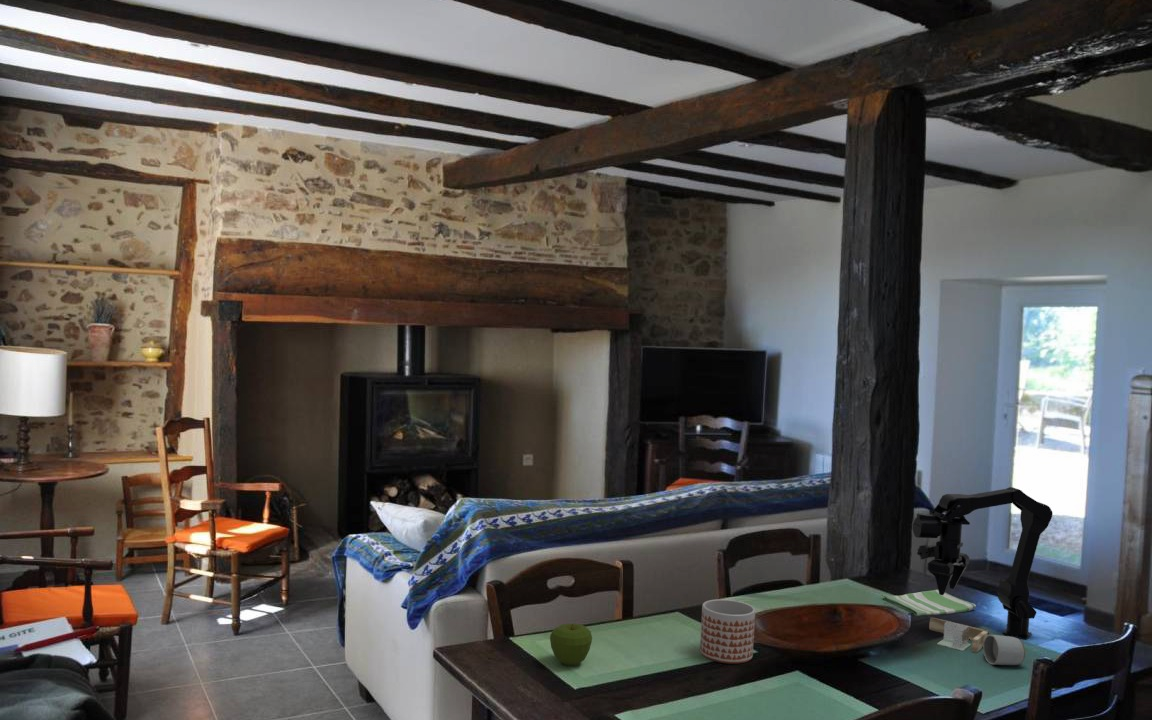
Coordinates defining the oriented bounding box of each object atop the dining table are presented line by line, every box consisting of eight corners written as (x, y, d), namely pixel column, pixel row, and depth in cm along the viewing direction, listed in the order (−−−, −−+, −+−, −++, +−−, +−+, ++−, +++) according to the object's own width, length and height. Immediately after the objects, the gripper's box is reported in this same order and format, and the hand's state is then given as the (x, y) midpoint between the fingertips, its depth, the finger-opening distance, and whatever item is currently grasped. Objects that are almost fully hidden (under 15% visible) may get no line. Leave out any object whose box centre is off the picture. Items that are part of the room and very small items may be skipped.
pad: (945, 638, 260) (945, 637, 260) (971, 645, 255) (971, 644, 255) (937, 644, 255) (937, 643, 254) (963, 651, 250) (963, 650, 250)
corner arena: (930, 628, 268) (931, 616, 268) (988, 643, 258) (989, 630, 258) (916, 637, 259) (917, 625, 259) (975, 653, 249) (976, 640, 249)
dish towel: (880, 600, 297) (880, 591, 296) (938, 596, 304) (939, 588, 304) (917, 617, 280) (917, 609, 280) (978, 613, 287) (978, 604, 287)
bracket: (968, 643, 255) (969, 626, 255) (961, 648, 251) (962, 631, 251) (946, 638, 259) (947, 620, 259) (939, 643, 255) (940, 625, 255)
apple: (570, 652, 235) (572, 614, 234) (600, 664, 227) (602, 625, 227) (539, 661, 227) (541, 622, 227) (569, 674, 220) (571, 634, 219)
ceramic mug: (1026, 669, 239) (1028, 640, 238) (997, 669, 238) (998, 639, 237) (1003, 655, 249) (1005, 627, 249) (975, 655, 248) (976, 627, 248)
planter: (762, 655, 239) (765, 608, 239) (733, 668, 229) (736, 618, 229) (719, 641, 248) (721, 595, 248) (689, 653, 238) (692, 605, 238)
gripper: (933, 528, 276) (929, 579, 277) (910, 538, 262) (907, 591, 263) (971, 535, 269) (967, 587, 270) (950, 545, 255) (946, 600, 256)
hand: (946, 591), depth 265 cm, fingers open, 9 cm apart
